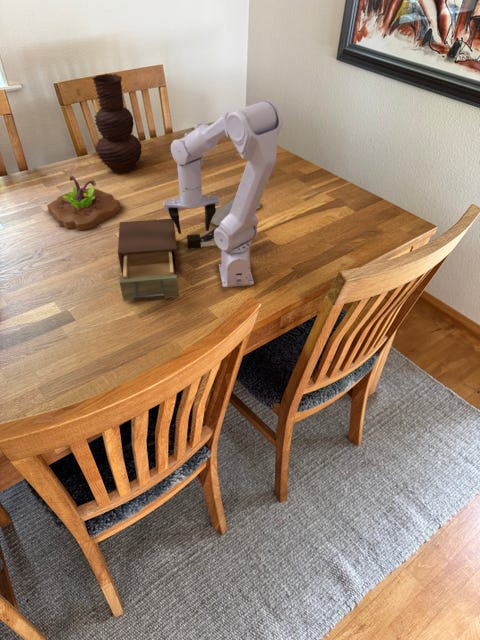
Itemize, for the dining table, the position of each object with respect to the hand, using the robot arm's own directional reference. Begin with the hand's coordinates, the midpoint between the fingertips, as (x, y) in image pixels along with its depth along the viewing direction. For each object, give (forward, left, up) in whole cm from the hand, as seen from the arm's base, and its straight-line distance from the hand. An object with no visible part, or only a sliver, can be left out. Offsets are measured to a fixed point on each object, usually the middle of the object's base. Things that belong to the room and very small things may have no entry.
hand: (193, 230), depth 127 cm
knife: (0, -3, -5) cm, 6 cm away
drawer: (-18, +12, -4) cm, 22 cm away
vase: (+52, +21, -6) cm, 57 cm away
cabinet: (-4, +12, -5) cm, 14 cm away
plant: (+24, +32, -6) cm, 41 cm away
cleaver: (+13, -10, -5) cm, 17 cm away
